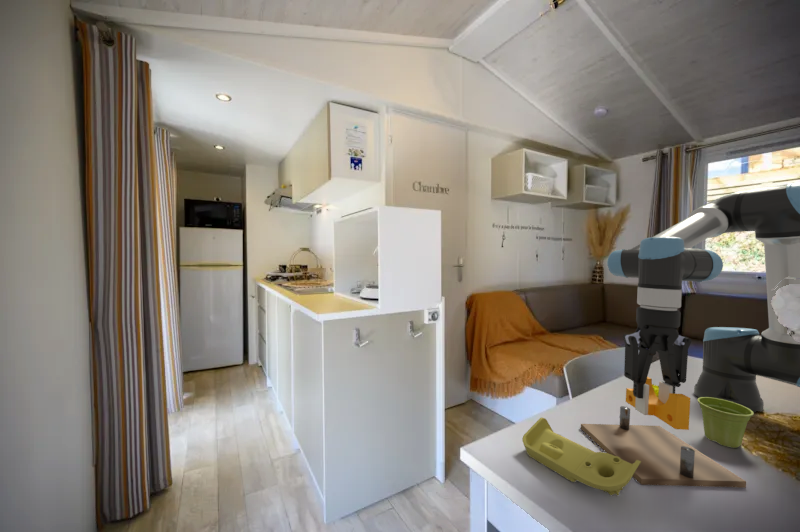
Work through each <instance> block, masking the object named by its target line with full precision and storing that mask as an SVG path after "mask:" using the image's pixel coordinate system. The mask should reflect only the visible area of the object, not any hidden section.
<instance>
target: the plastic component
mask: <svg viewBox="0 0 800 532" xmlns="http://www.w3.org/2000/svg"><path fill="white" fill-rule="evenodd" d="M521 441H522V443H523V445H524V448H525V451H526V453H527V455H528V456H529V457H530V458H532V459H533V460H534V461H537V462H539V463H540V464H541V465H543V466H545V467H547V468H548V469H550V470H552V471H553V472H555V473H557V475H558V474H559V475H560V476H561V477H563V478H565V479H567V480H568V481H570V482H572V483H576V482H579V483H581V484H584V485H586V486H588V487H590V488H594V489H596V490H601V491H603V492H605V491H606V493H607V492H608V495H609V494H610V495H609V496H611V495H612V496H613V495H616V496H619V495H620V492H621V491H623V490H624V488H625V487H626V486H627V485H628V484H629V482H630V481H631V479H632V478H633V477H632V476H633V475H634V473H635V471H636V469H637V468H638V466H639V464H640V463H641V461H639V460H636V461H635V463H633V464H631V463H629V462H627V461H624V460H622V459H621V458H620V457H618V456H614V455H611V454H609V453H606V452H605V451H604V452H603V451H602V452H601V451H599V452H598V451H594V450H592V449H590V448H588V447H585V446H583V445H582V444H579V443H577V442H575V441H573V440H571V439H569V438H567V437H564V436H562V435H560V434H559V433H556V432H554V430H553V428H552V427H551V425H550V423H549V422H548V420H547V419H546V418H544V417H540V418H539V419H537V421H536V422H535V423H533V425H532V426H531V427H530V428H529V429H528V430H527V431H526V432H525V433H524V434H523V435H522V440H521Z"/></svg>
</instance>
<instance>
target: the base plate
mask: <svg viewBox="0 0 800 532" xmlns="http://www.w3.org/2000/svg"><path fill="white" fill-rule="evenodd" d="M619 426H620V424H608V423H607V424H606V423H605V424H603V423H602V424H601V423H599V424H598V423H597V424H596V423H580V429H581V431H583V432H584V433H585V434H586V435H587V436H588V437H589V438H590V439H591V440H592V441H594V442H595V443H596V444H597V445H598V446H599V447H600V448H601V449H602V450H603V451H604V452H605V453H609V454H611V455H614V456H618V457H620V458H621V459H622V460H624V461H627V462H629V463H631V464H633V463H635V461H636V460H639V461H641V463H640V464H639V466H638V468H637V469H636V471H635V473H634V475H633V476H632V478H633V479H634V480H637V481H636V482H637V483H639V484H640V485H642V486H671V487H672V486H674V487H708V488H709V487H710V488H716V487H717V488H747V481H746V480H745V479H743V478H742V477H740V476H738V475H737V474H735V473H734V472H732V471H731V470H729V469H728V468H726V467H725V466H723V465H721V464H720V463H718V462H717V461H715V460H713V459H712V458H710V457H709V456H707V455H705V454H703V453H702V452H701V451H699V450H698V449H696V448H695V447H693V446H692V445H690V444H689V443H688V442H685V441H684V440H682V439H681V438H679V437H678V436H676V435H674V434H673V433H671V432H670V431H668V430H666V428H664V427H662V426H660V425H646V424H645V425H643V424H642V425H641V424H630V425H629V430H624V429H621V428H620V427H619ZM682 446H685V447H689V448H691V449H693V450H694V451H695V458H694V477H693V478H688V477H685V476H683V475H681V474H680V456H681V447H682Z"/></svg>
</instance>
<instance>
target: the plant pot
mask: <svg viewBox="0 0 800 532" xmlns="http://www.w3.org/2000/svg"><path fill="white" fill-rule="evenodd" d="M696 400H697V402H698V404H699V408H700V409H701V415H702V421H703V422H702V423H703V431H704V436H705V437H706V438H707V439H708V440H709V441H712V442H716V443H718V444H719V445H721V446H724V447H728V448H734V449H735V448H739V447H741V446H742V443H743V439H744V437H745V436H744V435H745V431H746V429H747V425H748V422H749V421H750V419H751V417H753V416H754V413H755V412H753V411H752V410H750V409H749V408H747V407H745V406H742V405H740V404H737V403H734V402H731V401H727V400H723V399H718V398H712V397H700V398H699V397H697V399H696Z"/></svg>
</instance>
